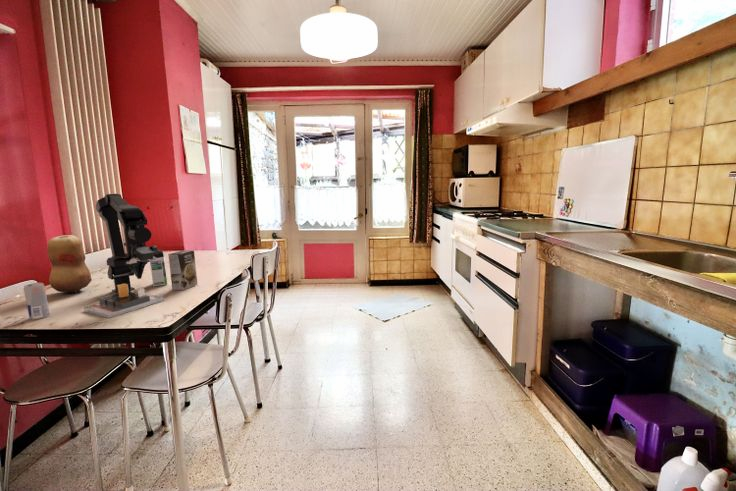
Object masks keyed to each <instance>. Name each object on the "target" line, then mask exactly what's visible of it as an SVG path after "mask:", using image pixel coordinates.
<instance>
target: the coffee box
mask: <svg viewBox="0 0 736 491" xmlns="http://www.w3.org/2000/svg"><path fill="white" fill-rule="evenodd" d="M195 256H196V255H195V250H179V251H176V252H172V253H168V263H169V273H170V280H171V289H172V290H176V291H185V290H188V289H190V288H192V287H195V286H198V284H199V283H198V275H197V267H196V266H197V265H196V257H195Z"/></svg>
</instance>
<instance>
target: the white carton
mask: <svg viewBox="0 0 736 491" xmlns="http://www.w3.org/2000/svg"><path fill="white" fill-rule="evenodd" d="M45 287H46V286H45V284H44V283H43V282H35V283H29V284H25V285H24V286H23V293H24V297H25V303H26V308H27V313H28V317H29V320H33V321H34V320H35V321H36V320H41V319H44V318H47V317H50V307H49V303H48V302H49V301H48V298H47V292H46V288H45Z"/></svg>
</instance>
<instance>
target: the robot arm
mask: <svg viewBox="0 0 736 491" xmlns="http://www.w3.org/2000/svg"><path fill="white" fill-rule="evenodd" d="M95 203H96V204H95V210H96V212H97V213H98V215H99V216H98V217H99V218H101V219H102V220H103V221H104V222H105V223H104V224H105V226H106V232H107V236H108V240H109V241H108V242H109V246H110V251H111V257H108V258H107V259H106V266H108V267H107V268H108V269H107V278H108V279H109V280H110V281H111V280H113V283H114V289H111V292H113V293H118V287H117V285H120V284H128V290H129V291H132V290H136V289H135V287H132V286H131V285H132V284H131V278H130V276H131V277H132V276H135V277H136V278H137V280H141V279H142V277H143V274H144V269H145V267H146V265H147V264H148V263H150V259H153V256H154V257H156V258H161V257H165V252H163V250H161V249H158V247H157V246H156V245H151V246H148V247H147V245H146V244H147V242H149V241H150V240H151V238H152V232H151V230H150V229H149V228H148V227H145V226H147V225H148V218H147V217H146V215H145V213H144V211H143V210H142V209H141V208H140V207H139V206H137V205H131V204H129V203H128V202H127V201H126V200H125V199H124V198H123V197H122V195H121V194H119V193H107V194H105V195H104V196H103V197H101V198H100V199H98V200H97V201H96V202H95ZM120 224H121V226H122V228H123V234H124V235H123V236H124V242H123V237H122V232H121V228H120ZM125 247H126V248H125ZM125 249H126V252H125Z"/></svg>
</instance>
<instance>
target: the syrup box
mask: <svg viewBox="0 0 736 491" xmlns="http://www.w3.org/2000/svg"><path fill="white" fill-rule="evenodd" d="M149 260H150V262H149V265H150V266H149V267H150V270H151V271H150V272H151V279H152V286H153V287H158V286H166V285H168V276H167V275H168V274H167V268H166V258H165V256H164V257H161V258H156V257H154V256H153V259H149Z"/></svg>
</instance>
